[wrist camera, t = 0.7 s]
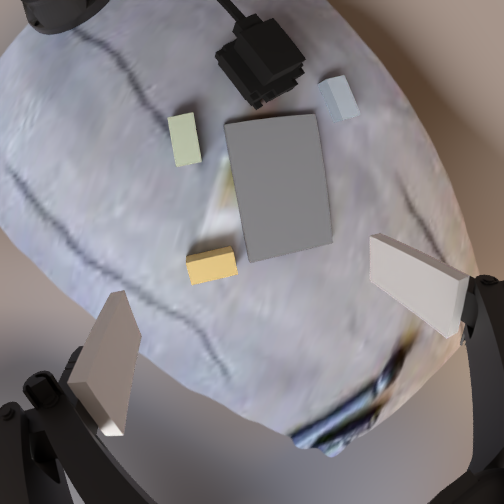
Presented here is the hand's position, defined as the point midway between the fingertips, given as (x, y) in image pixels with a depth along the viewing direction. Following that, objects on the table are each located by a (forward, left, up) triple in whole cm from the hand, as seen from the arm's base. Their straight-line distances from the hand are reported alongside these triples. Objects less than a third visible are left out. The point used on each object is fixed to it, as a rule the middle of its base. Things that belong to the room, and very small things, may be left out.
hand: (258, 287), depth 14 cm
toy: (-20, +7, -24) cm, 32 cm away
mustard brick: (+6, -2, -24) cm, 25 cm away
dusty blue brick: (-13, +19, -24) cm, 33 cm away
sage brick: (-10, -2, -24) cm, 26 cm away
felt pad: (-2, +9, -24) cm, 25 cm away
